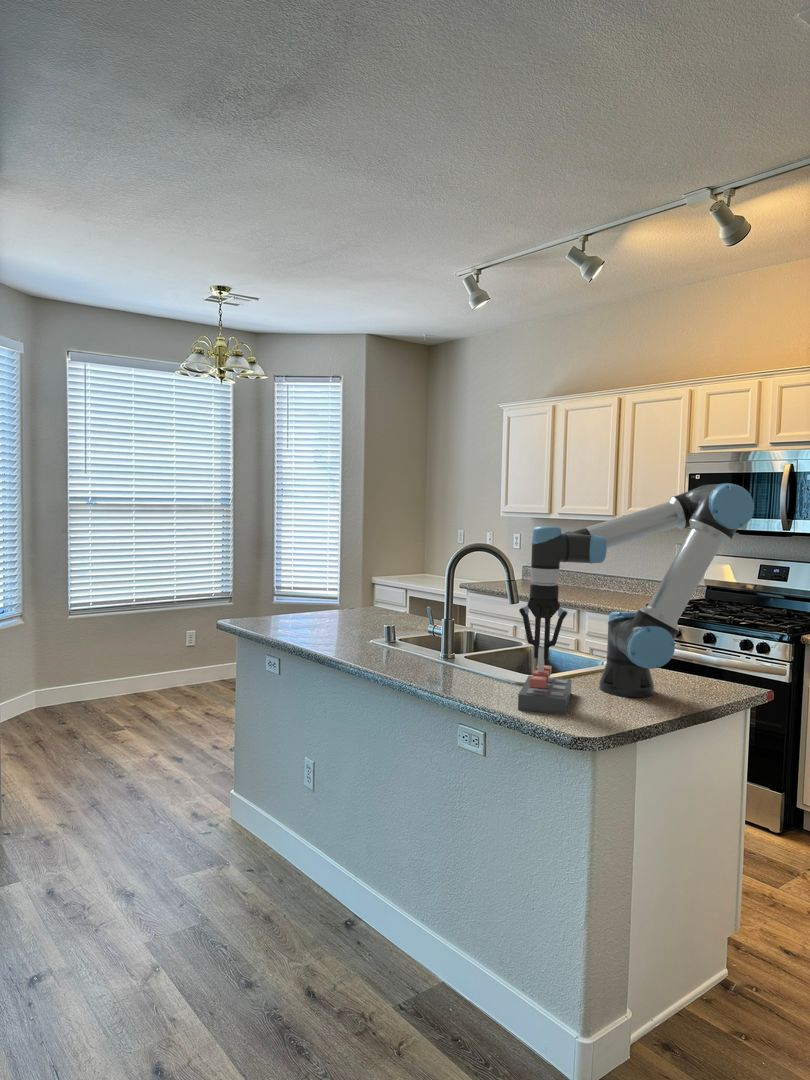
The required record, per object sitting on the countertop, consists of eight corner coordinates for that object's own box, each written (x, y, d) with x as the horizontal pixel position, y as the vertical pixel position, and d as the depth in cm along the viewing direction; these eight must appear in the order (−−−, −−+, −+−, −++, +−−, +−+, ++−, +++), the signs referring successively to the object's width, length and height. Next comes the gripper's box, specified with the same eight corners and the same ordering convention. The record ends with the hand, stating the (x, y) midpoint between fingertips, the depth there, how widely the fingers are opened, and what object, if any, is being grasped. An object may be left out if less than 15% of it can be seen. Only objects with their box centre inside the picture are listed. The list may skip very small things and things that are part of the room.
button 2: (549, 678, 203) (549, 670, 203) (547, 681, 199) (547, 674, 199) (534, 677, 204) (534, 669, 204) (532, 680, 200) (532, 672, 200)
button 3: (546, 684, 196) (546, 676, 196) (545, 688, 192) (545, 680, 192) (531, 683, 197) (531, 675, 197) (529, 686, 193) (529, 678, 193)
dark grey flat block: (571, 690, 213) (572, 676, 213) (565, 714, 189) (565, 698, 189) (529, 686, 216) (530, 672, 216) (517, 709, 192) (518, 693, 192)
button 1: (551, 672, 209) (551, 665, 209) (550, 676, 206) (550, 668, 205) (537, 671, 210) (537, 664, 210) (535, 674, 207) (535, 667, 207)
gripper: (570, 583, 202) (566, 670, 203) (521, 580, 205) (518, 665, 207) (568, 586, 194) (564, 676, 196) (518, 583, 198) (514, 671, 199)
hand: (540, 670), depth 201 cm, fingers closed
